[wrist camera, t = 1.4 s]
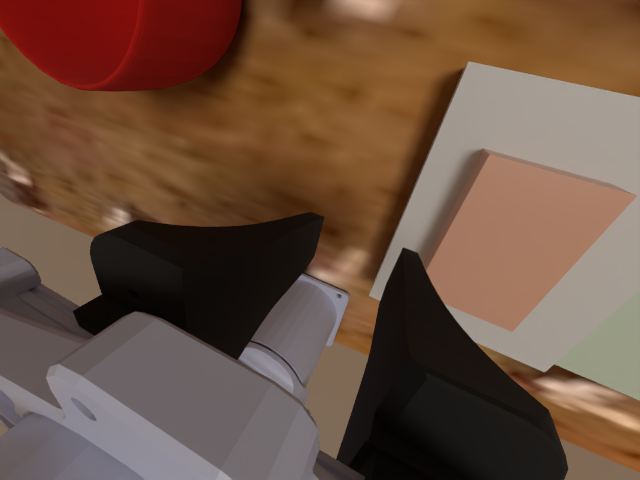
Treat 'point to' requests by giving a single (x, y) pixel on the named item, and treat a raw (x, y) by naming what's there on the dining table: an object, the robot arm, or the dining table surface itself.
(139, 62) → the ceramic cup
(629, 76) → the dining table surface
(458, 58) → the dining table surface
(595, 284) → the deck
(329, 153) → the dining table surface
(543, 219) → the tile
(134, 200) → the dining table surface
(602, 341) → the mat
